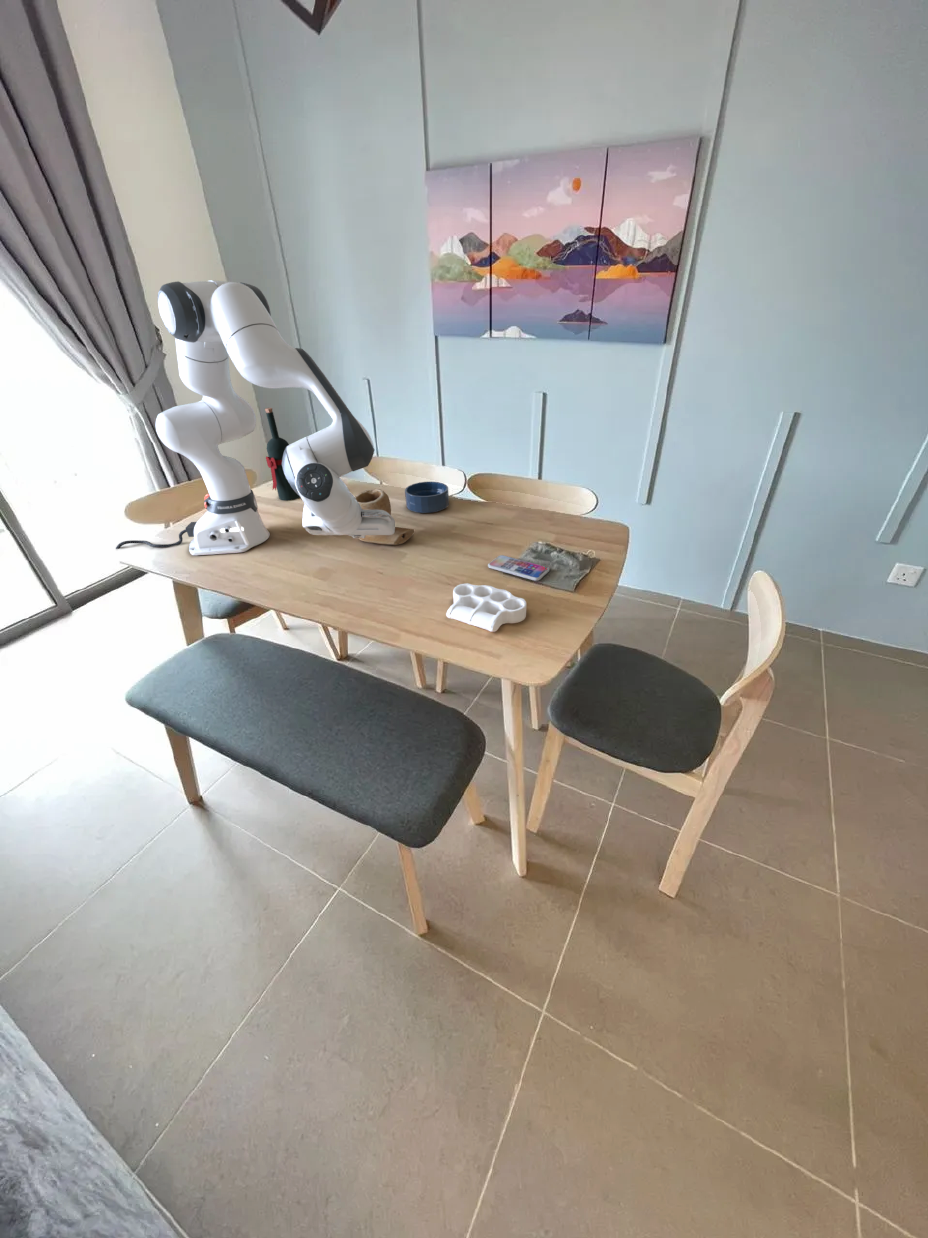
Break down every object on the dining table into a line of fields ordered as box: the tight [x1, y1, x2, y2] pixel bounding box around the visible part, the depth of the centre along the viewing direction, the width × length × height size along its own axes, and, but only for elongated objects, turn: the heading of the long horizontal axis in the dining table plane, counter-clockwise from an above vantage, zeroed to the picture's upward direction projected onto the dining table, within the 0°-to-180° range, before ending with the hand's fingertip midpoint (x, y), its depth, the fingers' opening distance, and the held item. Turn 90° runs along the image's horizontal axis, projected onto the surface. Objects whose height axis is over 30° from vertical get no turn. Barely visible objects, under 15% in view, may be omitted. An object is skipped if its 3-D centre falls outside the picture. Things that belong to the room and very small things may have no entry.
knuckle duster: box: [445, 582, 527, 633], centre depth 111 cm, size 3×18×15 cm
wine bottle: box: [264, 407, 301, 502], centre depth 168 cm, size 8×10×30 cm
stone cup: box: [354, 488, 415, 546], centre depth 140 cm, size 15×12×15 cm
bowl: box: [404, 481, 450, 514], centre depth 164 cm, size 14×14×6 cm
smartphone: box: [487, 554, 550, 582], centre depth 127 cm, size 7×1×15 cm
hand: (359, 535), depth 121 cm, fingers closed
